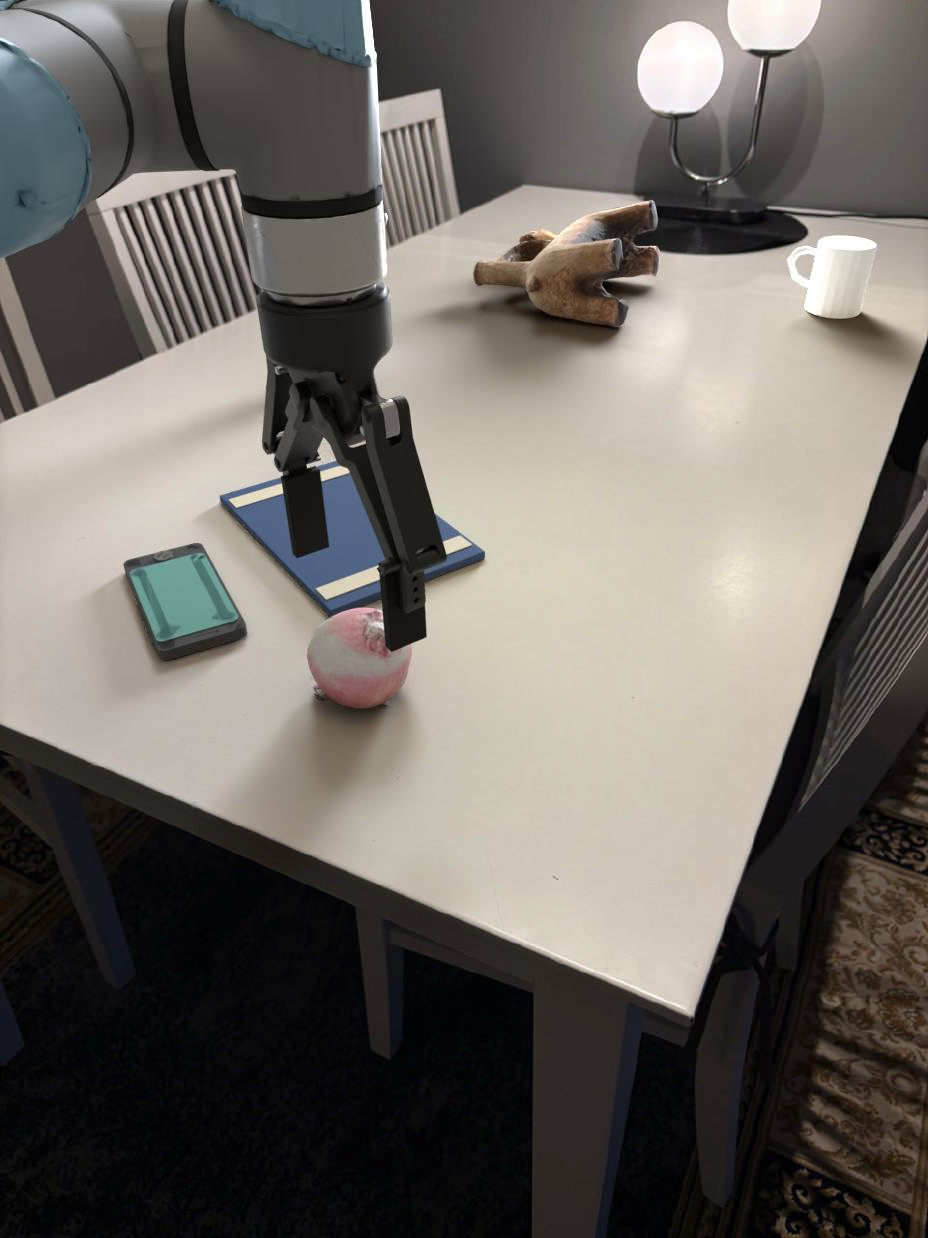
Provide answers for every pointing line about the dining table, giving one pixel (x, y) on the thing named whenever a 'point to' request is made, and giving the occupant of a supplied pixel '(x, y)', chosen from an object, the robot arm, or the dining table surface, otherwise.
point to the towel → (334, 541)
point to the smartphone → (183, 601)
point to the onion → (356, 660)
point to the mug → (836, 275)
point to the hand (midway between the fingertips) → (355, 593)
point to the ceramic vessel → (579, 264)
